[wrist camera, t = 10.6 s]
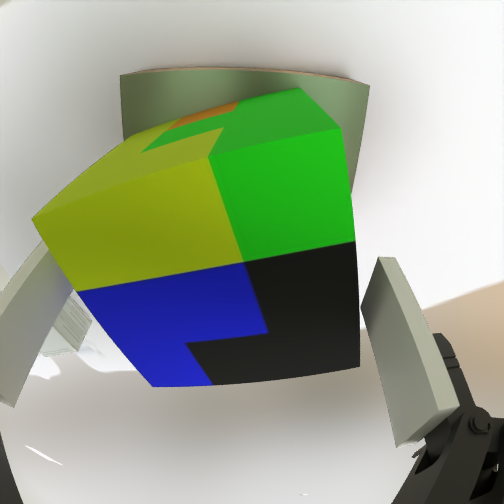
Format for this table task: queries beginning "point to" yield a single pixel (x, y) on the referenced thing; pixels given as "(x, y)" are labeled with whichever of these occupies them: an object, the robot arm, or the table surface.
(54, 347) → the small box
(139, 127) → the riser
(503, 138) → the table surface
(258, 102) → the puzzle toy
